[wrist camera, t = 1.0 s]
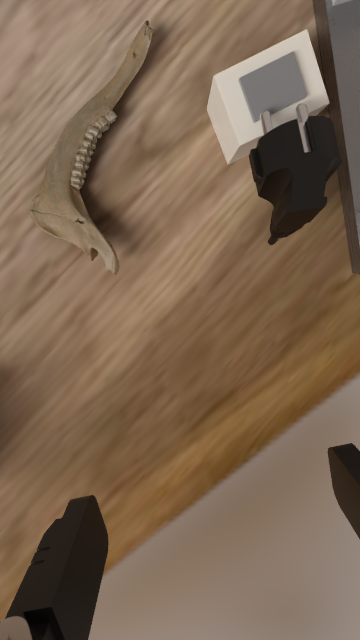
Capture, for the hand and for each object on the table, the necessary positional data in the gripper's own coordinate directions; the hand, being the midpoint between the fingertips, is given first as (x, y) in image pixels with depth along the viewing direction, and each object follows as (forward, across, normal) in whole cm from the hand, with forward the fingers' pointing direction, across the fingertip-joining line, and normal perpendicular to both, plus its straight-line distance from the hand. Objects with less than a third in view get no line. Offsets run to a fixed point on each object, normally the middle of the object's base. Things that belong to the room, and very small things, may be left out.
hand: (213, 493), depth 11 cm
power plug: (+24, -10, -9) cm, 27 cm away
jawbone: (+24, +1, -15) cm, 28 cm away
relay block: (+23, -10, -17) cm, 30 cm away
